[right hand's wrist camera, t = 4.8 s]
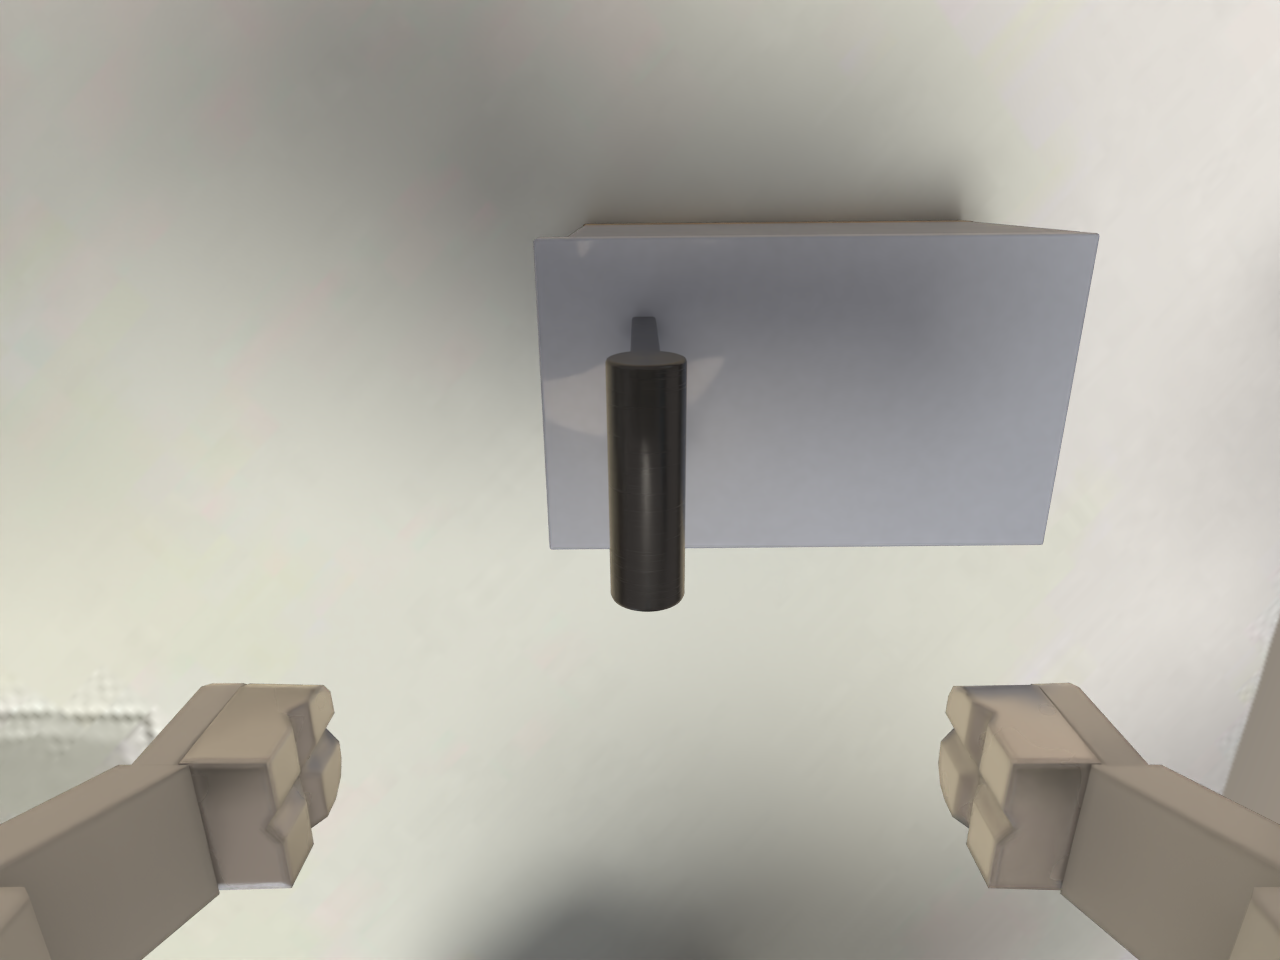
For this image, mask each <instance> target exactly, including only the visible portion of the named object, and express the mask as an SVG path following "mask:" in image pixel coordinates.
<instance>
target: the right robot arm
mask: <svg viewBox="0 0 1280 960" xmlns="http://www.w3.org/2000/svg"><path fill="white" fill-rule="evenodd" d="M945 713H946V715H947V716H948V718H949V720H950V722H951V723H952V725H953V727H954V729H953V730H952V731H951V732H950V733H949V734H948V735H947V736H946V737H945V738H944V739H943V740H942V741H941V745H940V753H939V761H938V766H939V776H940V786H941V789H942V792H943V796H944V799H945V802H946V804H947V806H948V808H949V810H950V812H951V815H952V817H954V818H955V819H957V820H958V821H959V822H961V823H962V824H964V825H965V826H966V827H968V828H969V831H968V836H967V842H966V845H967V847H968V849H969V851H970V853H971V855H972V857H973V858H974V860H975V862H976V864H977V866H978V868H979V870H980V872H981V874H982V876H983V878H984V880H985V882H986V884H987V886H988V888H1007V889H1042V890H1061V892H1060V894H1062V895H1063V896H1064V897H1065V898H1066V899H1067V900H1069V901H1070V902H1071V903H1072V904H1073V905H1075V906H1076V907H1077V908H1078V909H1079V910H1080V911H1082V912H1083V913H1084V914H1085V915H1086V916H1088V917H1089V918H1090V919H1091V920H1092V921H1093V922H1095V923H1096V924H1097V925H1098V926H1099V927H1101V928H1102V929H1103V930H1104V931H1105V932H1107V933H1108V934H1109V935H1110V936H1111V937H1112V938H1114V939H1115V940H1116V941H1117V942H1118V943H1120V944H1121V945H1122V946H1123V947H1124V948H1125V949H1127V950H1128V951H1129V952H1130V953H1131V954H1133V955H1134V956H1135V957H1136V958H1137V959H1138V960H1280V824H1278V823H1276V822H1274V821H1272V820H1270V819H1268V818H1266V817H1264V816H1262V815H1260V814H1258V813H1256V812H1254V811H1252V810H1250V809H1248V808H1246V807H1244V806H1242V805H1240V804H1238V803H1236V802H1234V801H1232V800H1230V799H1228V798H1226V797H1224V796H1222V795H1220V794H1218V793H1216V792H1214V791H1212V790H1210V789H1208V788H1206V787H1204V786H1202V785H1200V784H1198V783H1196V782H1194V781H1192V780H1190V779H1188V778H1186V777H1184V776H1182V775H1180V774H1178V773H1176V772H1174V771H1172V770H1171V769H1169V768H1167V767H1165V766H1163V765H1148V764H1147V762H1146V761H1145V760H1144V759H1143V758H1142V757H1141V756H1140V755H1139V754H1138V752H1137V751H1136V750H1135V749H1134V748H1133V747H1132V746H1131V745H1130V743H1129V742H1128V741H1127V740H1126V739H1125V738H1124V737H1123V736H1122V735H1121V733H1120V732H1119V731H1118V730H1117V729H1116V728H1115V727H1114V726H1113V724H1112V723H1111V722H1110V721H1109V720H1108V719H1107V718H1106V717H1105V716H1104V714H1103V713H1102V712H1101V711H1100V710H1099V709H1098V708H1097V707H1096V705H1095V704H1094V703H1093V702H1092V701H1091V700H1090V699H1089V698H1088V697H1087V695H1086V694H1085V693H1084V692H1083V691H1082V690H1081V689H1080V688H1079V687H1077V686H1075V685H1073V684H1071V683H1049V684H1031V685H993V686H953V688H952V690H951V692H950V694H949V696H948V701H947V707H946V712H945ZM333 715H334V708H333V703H332V698H331V693H330V691H329V690H328V689H327V688H326V687H325V686H324V685H296V684H244V683H212V684H209V685H205V686H202V687H201V688H200V689H199V690H198V691H197V692H196V693H195V694H194V695H193V697H192V698H191V699H190V700H189V701H188V702H187V703H186V704H185V705H184V707H183V708H182V709H181V710H180V711H179V712H178V713H177V714H176V716H175V717H174V718H173V719H172V720H171V721H170V722H169V723H168V724H167V726H166V727H165V728H164V729H163V730H162V731H161V732H160V733H159V735H158V736H157V737H156V738H155V739H154V740H153V741H152V742H151V743H150V745H149V746H148V747H147V748H146V749H145V750H144V751H143V752H142V754H141V755H140V756H139V757H138V758H137V759H136V760H135V761H134V762H133V764H132V765H117V766H115V767H113V768H111V769H109V770H107V771H106V772H104V773H102V774H100V775H98V776H96V777H94V778H92V779H90V780H88V781H86V782H84V783H82V784H80V785H78V786H76V787H74V788H72V789H70V790H68V791H66V792H64V793H62V794H60V795H58V796H56V797H54V798H52V799H50V800H48V801H46V802H44V803H42V804H40V805H38V806H36V807H34V808H32V809H30V810H28V811H26V812H24V813H22V814H20V815H18V816H16V817H14V818H12V819H10V820H8V821H6V822H4V823H2V824H0V960H142V959H143V958H144V957H145V956H147V955H148V954H149V953H150V952H151V951H152V950H154V949H155V948H156V947H157V946H158V945H160V944H161V943H162V942H163V941H164V940H165V939H167V938H168V937H169V936H170V935H171V934H173V933H174V932H175V931H176V930H177V929H179V928H180V927H181V926H182V925H183V924H184V923H186V922H187V921H188V920H189V919H190V918H192V917H193V916H194V915H195V914H196V913H198V912H199V911H200V910H201V909H202V908H203V907H205V906H206V905H207V904H208V903H209V902H211V901H212V900H213V899H214V898H215V897H217V896H218V895H219V890H237V889H272V888H292V886H293V884H294V882H295V880H296V878H297V876H298V874H299V872H300V870H301V868H302V866H303V864H304V862H305V861H306V859H307V857H308V855H309V853H310V851H311V849H312V847H313V845H314V842H313V836H312V831H311V828H312V827H314V826H315V825H316V824H318V823H319V822H321V821H322V820H323V819H325V818H326V817H328V815H329V812H330V810H331V808H332V806H333V804H334V802H335V800H336V796H337V792H338V787H339V783H340V779H341V751H340V744H339V741H338V740H337V739H336V738H335V737H334V736H333V735H332V734H331V733H330V732H329V731H328V730H327V729H326V727H327V725H328V723H329V722H330V720H331V718H332V716H333Z"/></svg>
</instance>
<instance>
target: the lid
mask: <svg viewBox="0 0 1280 960" xmlns="http://www.w3.org/2000/svg"><path fill="white" fill-rule="evenodd" d="M1098 241H1099V234H1097V233H1088V232H1031V233H925V234H818V235H712V236H606V237H538V238H536V239H534V242H533V243H534V261H535V280H536V299H537V318H538V337H539V356H540V374H541V393H542V412H543V431H544V450H545V468H546V487H547V506H548V525H549V544H550V549H610V577H611V595H612V598H613V599H614V601H615V602H616V603H617V604H619V605H620V606H622V607H624V608H627V609H631V610H635V611H645V612H650V611H660V610H664V609H668V608H671V607H673V606H675V605H676V604H678V603H679V602H680V601H681V600H682V598H683V596H684V583H685V548H750V547H856V546H963V545H1042V544H1043V541H1044V535H1045V530H1046V524H1047V519H1048V513H1049V508H1050V502H1051V497H1052V491H1053V486H1054V481H1055V475H1056V470H1057V464H1058V459H1059V453H1060V448H1061V442H1062V437H1063V432H1064V426H1065V421H1066V415H1067V410H1068V404H1069V399H1070V393H1071V388H1072V383H1073V377H1074V372H1075V366H1076V361H1077V355H1078V350H1079V344H1080V339H1081V334H1082V328H1083V323H1084V317H1085V312H1086V306H1087V301H1088V295H1089V290H1090V285H1091V279H1092V274H1093V268H1094V263H1095V257H1096V252H1097V246H1098Z"/></svg>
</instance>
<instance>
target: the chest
mask: <svg viewBox="0 0 1280 960" xmlns="http://www.w3.org/2000/svg"><path fill="white" fill-rule="evenodd" d="M1031 232H1078V231H1067V230H1056V229H1045V228H1035V227H1024V226H1013V225H1002V224H991V223H981V222H973V221H963V220H949V221H842V222H736V223H630V224H584V225H583V227H582V228H580V229H579V230H577V231H575V232H574V233H572V234H571V235H569V236H568V237H606V236H712V235H818V234H925V233H1031Z"/></svg>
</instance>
